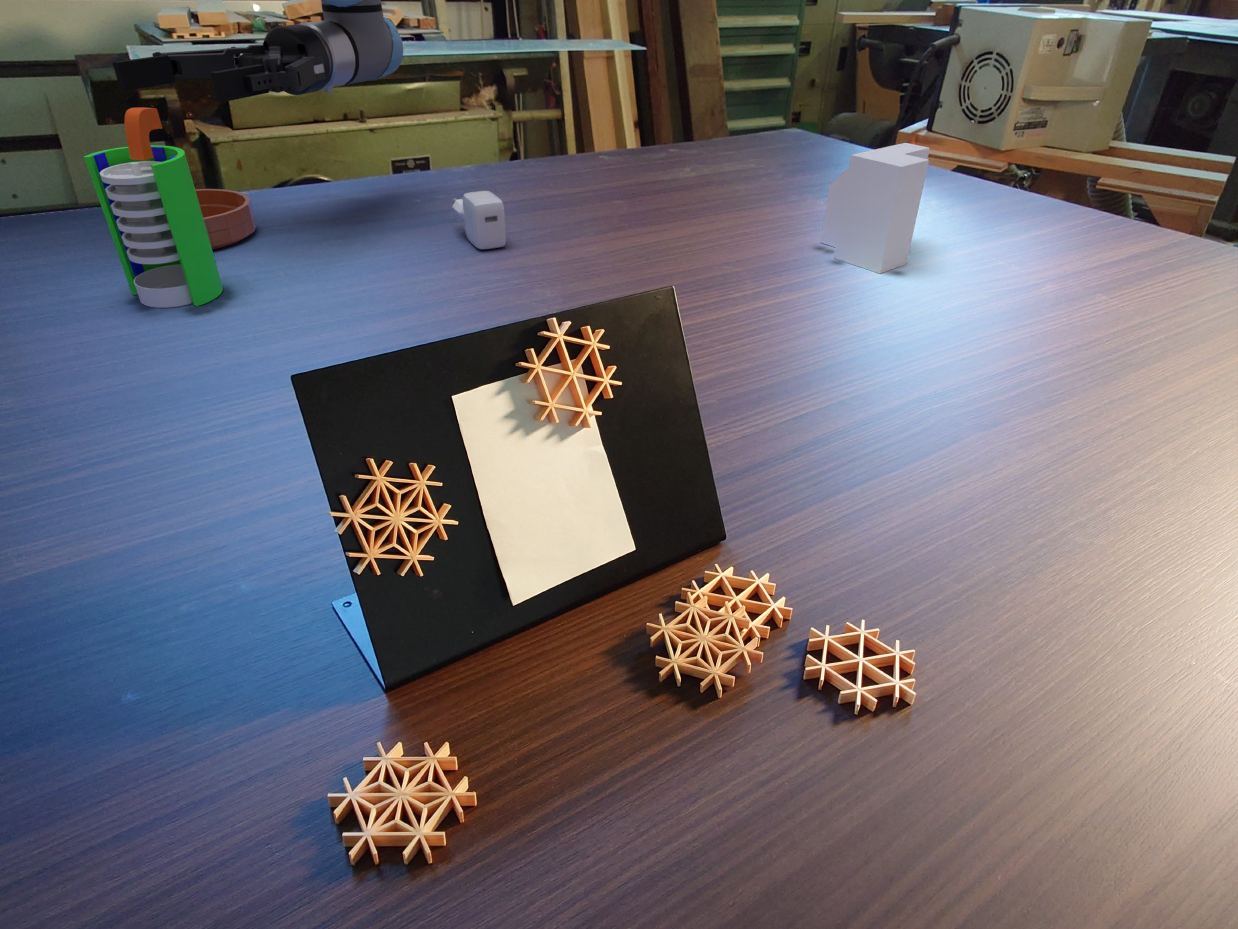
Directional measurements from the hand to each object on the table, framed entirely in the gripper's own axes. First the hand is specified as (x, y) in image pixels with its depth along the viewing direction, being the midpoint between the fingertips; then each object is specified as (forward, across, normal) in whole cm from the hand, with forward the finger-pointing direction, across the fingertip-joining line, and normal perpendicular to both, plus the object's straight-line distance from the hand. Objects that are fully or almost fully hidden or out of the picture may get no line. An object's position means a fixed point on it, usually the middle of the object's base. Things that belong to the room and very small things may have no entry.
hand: (165, 81), depth 83 cm
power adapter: (-21, -23, -19) cm, 37 cm away
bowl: (-6, +9, -19) cm, 22 cm away
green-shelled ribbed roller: (+9, -4, -19) cm, 22 cm away
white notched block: (-37, -69, -19) cm, 81 cm away
